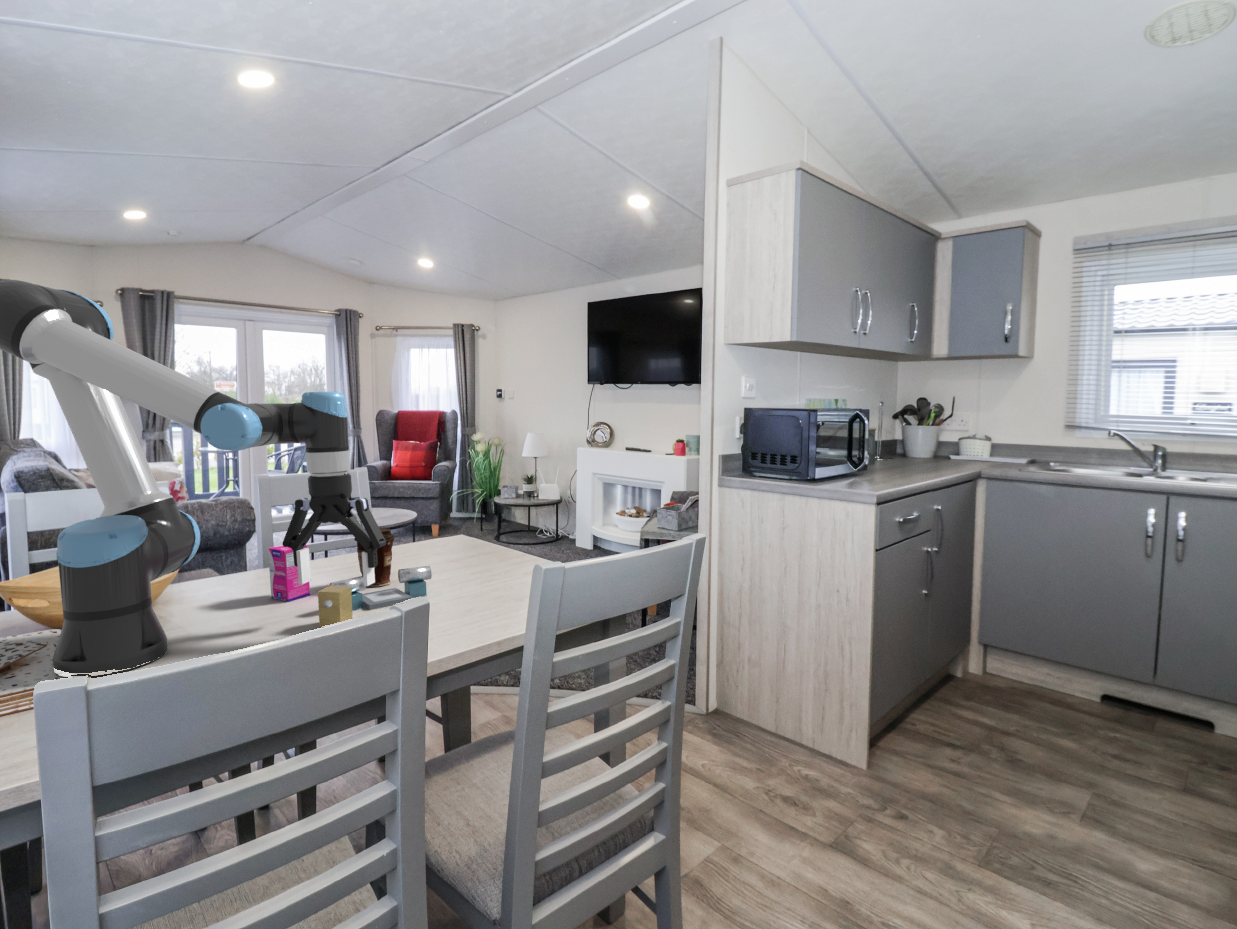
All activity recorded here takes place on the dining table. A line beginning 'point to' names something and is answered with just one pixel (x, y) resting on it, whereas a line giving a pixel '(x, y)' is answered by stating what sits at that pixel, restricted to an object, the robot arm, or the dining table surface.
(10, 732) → the dining table surface
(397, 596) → the cradle
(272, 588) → the supplement box
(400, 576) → the shaft
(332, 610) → the block
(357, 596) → the shaft
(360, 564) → the coffee cup
